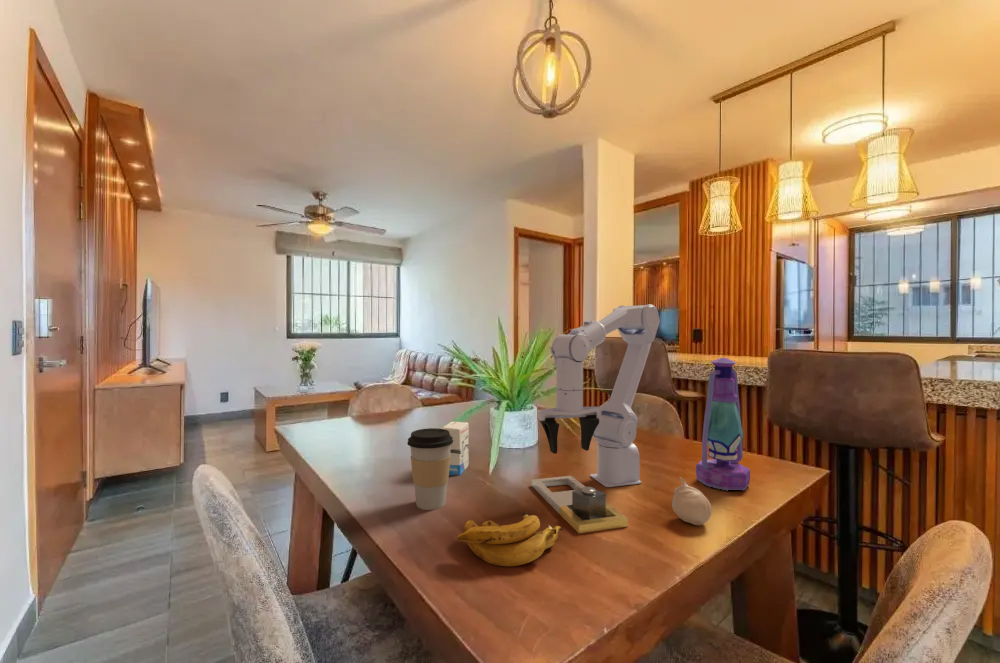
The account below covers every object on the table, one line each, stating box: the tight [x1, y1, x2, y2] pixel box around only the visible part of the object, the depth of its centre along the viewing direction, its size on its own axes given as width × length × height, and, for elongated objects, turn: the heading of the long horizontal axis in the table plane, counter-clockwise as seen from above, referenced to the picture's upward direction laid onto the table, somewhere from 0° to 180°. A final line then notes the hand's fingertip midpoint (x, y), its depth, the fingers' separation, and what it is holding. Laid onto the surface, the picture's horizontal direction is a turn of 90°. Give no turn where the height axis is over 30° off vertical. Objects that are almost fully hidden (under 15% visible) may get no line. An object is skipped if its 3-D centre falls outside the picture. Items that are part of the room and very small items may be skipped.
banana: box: [456, 512, 563, 567], centre depth 73 cm, size 15×19×6 cm
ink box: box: [442, 421, 470, 476], centre depth 111 cm, size 9×5×12 cm, turn 168°
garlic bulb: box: [671, 475, 713, 526], centre depth 82 cm, size 7×6×8 cm
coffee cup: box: [407, 427, 453, 511], centre depth 89 cm, size 9×9×15 cm
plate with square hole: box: [531, 475, 629, 535], centre depth 90 cm, size 10×24×2 cm, turn 16°
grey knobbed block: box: [572, 486, 607, 521], centre depth 84 cm, size 4×4×6 cm
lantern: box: [695, 357, 751, 492], centre depth 102 cm, size 13×12×30 cm
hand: (569, 450), depth 94 cm, fingers open, 7 cm apart
